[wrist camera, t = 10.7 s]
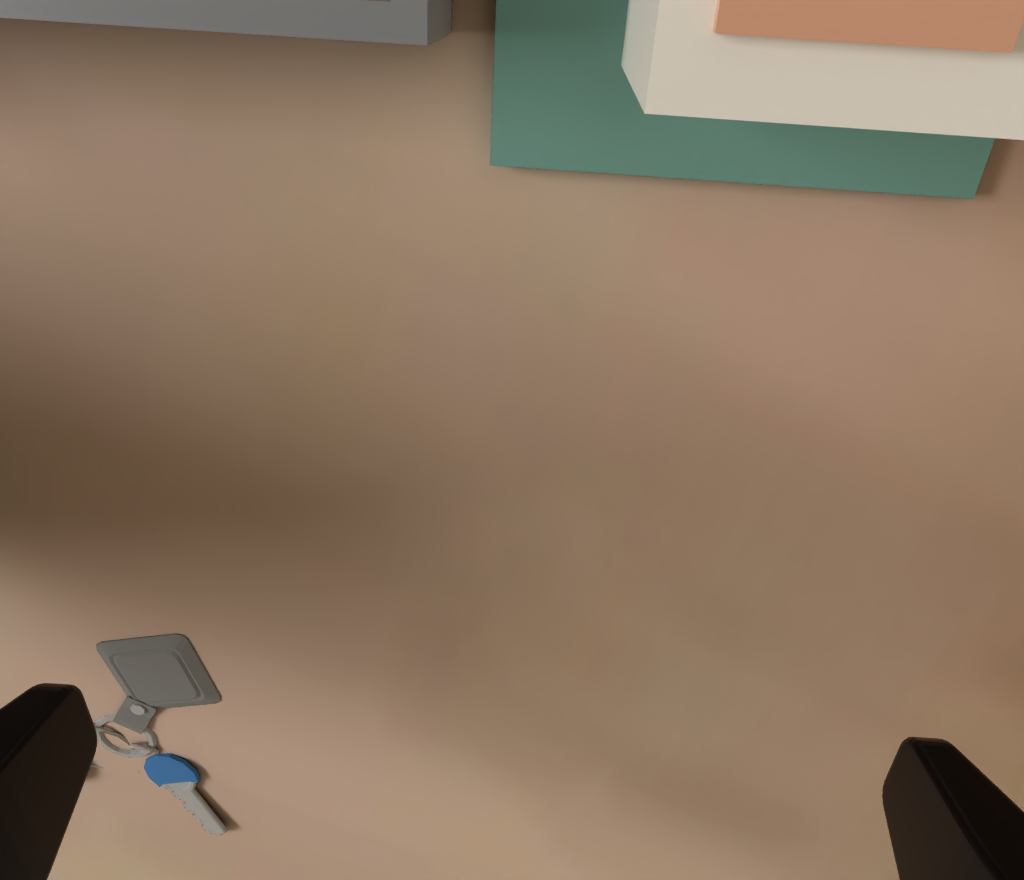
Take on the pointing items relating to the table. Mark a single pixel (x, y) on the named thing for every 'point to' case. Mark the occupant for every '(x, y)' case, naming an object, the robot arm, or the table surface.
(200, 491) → the table surface
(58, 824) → the robot arm
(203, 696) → the key chain
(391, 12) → the bin
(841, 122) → the box
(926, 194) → the rubber mat
